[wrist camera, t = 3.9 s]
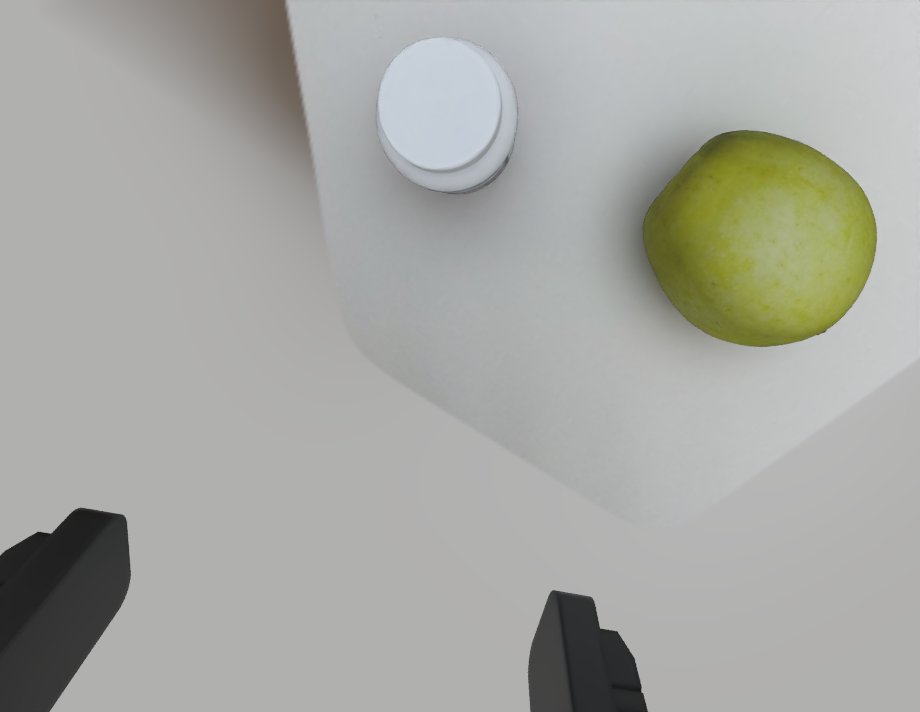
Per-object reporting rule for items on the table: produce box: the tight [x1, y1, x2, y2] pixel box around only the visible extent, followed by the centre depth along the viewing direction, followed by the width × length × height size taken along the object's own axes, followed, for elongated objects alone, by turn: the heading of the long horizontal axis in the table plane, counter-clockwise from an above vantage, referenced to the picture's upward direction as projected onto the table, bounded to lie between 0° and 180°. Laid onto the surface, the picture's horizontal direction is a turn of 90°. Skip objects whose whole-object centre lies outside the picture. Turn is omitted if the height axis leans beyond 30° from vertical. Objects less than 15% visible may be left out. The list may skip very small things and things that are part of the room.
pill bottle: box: [376, 37, 518, 194], centre depth 23 cm, size 5×5×9 cm
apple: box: [643, 130, 877, 347], centre depth 24 cm, size 8×9×8 cm
